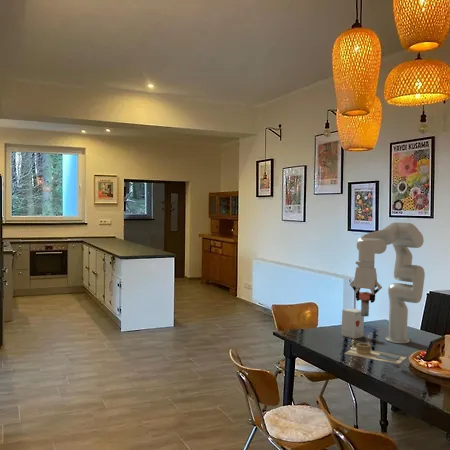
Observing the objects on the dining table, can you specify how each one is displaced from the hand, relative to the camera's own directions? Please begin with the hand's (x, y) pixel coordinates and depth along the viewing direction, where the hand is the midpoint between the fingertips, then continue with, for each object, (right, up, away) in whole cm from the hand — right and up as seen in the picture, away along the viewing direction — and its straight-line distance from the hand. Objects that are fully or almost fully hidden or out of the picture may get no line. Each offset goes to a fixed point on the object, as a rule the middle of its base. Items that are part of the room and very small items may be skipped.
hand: (365, 301), depth 241 cm
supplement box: (+4, -26, +38) cm, 46 cm away
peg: (0, -7, 0) cm, 7 cm away
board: (+4, -27, -3) cm, 28 cm away
